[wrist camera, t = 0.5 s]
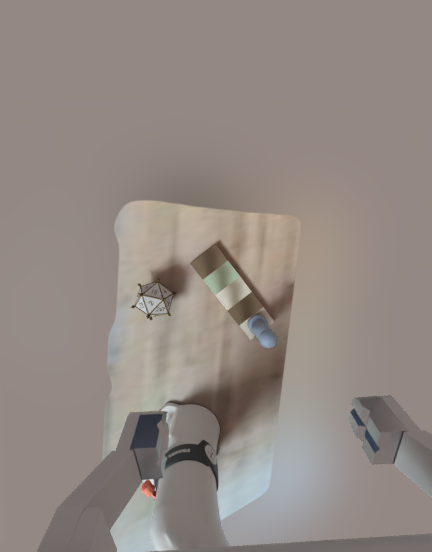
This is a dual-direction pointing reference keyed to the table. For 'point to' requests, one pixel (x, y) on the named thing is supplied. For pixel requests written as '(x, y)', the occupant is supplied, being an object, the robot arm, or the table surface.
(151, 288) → the game die
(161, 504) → the robot arm
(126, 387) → the table surface
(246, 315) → the track
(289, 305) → the table surface
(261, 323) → the pawn
